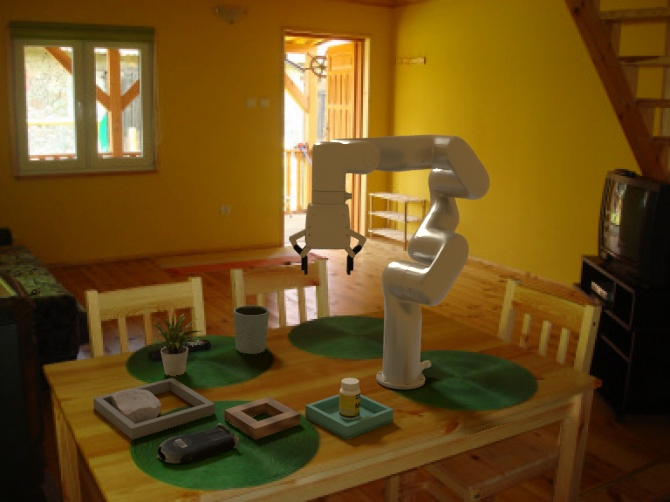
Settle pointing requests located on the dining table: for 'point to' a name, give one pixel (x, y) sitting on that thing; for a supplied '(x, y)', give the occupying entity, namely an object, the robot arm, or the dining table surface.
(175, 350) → the house plant
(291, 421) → the square wooden frame
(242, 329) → the gray cup
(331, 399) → the tray
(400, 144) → the robot arm
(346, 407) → the supplement bottle
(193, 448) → the electronic device
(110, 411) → the gray rectangular frame
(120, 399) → the stone block
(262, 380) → the dining table surface
